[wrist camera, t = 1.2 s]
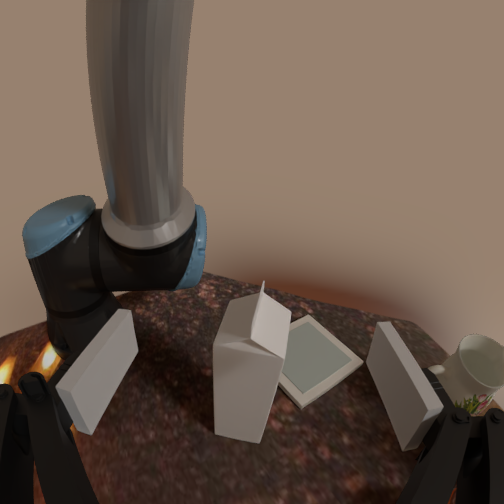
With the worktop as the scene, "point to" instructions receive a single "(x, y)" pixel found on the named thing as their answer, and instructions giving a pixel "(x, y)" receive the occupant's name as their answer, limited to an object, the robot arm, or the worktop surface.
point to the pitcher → (472, 373)
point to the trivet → (314, 362)
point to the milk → (248, 365)
